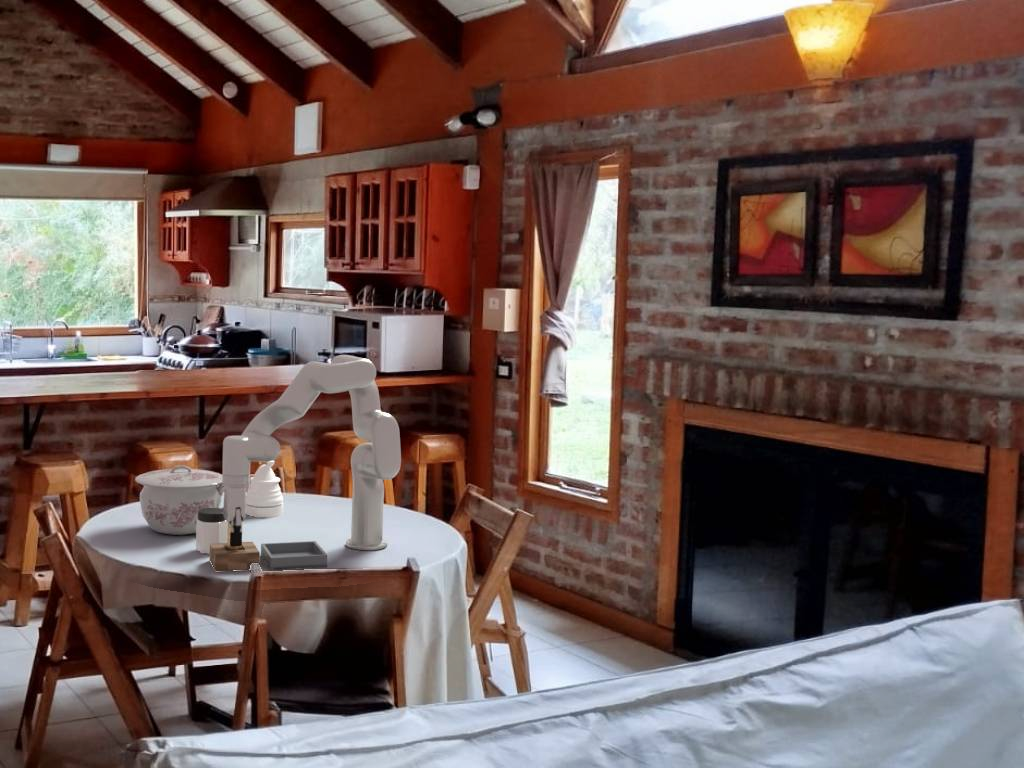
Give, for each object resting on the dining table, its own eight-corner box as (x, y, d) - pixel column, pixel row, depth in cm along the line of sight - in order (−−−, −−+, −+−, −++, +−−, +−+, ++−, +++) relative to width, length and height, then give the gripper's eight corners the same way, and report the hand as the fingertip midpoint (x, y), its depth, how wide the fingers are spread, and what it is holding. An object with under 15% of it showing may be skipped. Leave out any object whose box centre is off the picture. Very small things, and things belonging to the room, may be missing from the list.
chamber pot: (114, 531, 356) (115, 465, 353) (179, 515, 380) (180, 454, 378) (183, 546, 343) (184, 477, 341) (245, 529, 367) (246, 465, 365)
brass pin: (225, 563, 327) (226, 522, 325) (240, 563, 328) (241, 521, 327) (227, 567, 323) (228, 525, 322) (242, 566, 325) (243, 525, 323)
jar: (209, 545, 345) (209, 506, 344) (232, 549, 343) (233, 509, 341) (190, 552, 337) (191, 511, 336) (213, 555, 334) (214, 515, 333)
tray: (260, 555, 337) (261, 543, 337) (315, 552, 343) (315, 541, 343) (270, 570, 323) (270, 558, 322) (327, 567, 329) (327, 555, 328)
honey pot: (287, 510, 396) (289, 458, 394) (276, 518, 383) (277, 465, 381) (251, 507, 397) (252, 456, 395) (238, 516, 384) (240, 462, 382)
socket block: (209, 560, 329) (209, 543, 328) (252, 558, 333) (252, 541, 333) (215, 572, 318) (215, 554, 317) (259, 569, 322) (259, 552, 322)
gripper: (218, 474, 329) (216, 537, 331) (226, 486, 314) (225, 552, 316) (244, 474, 332) (243, 536, 334) (254, 485, 317) (252, 551, 319)
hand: (234, 543), depth 325 cm, fingers closed on brass pin, 4 cm apart
